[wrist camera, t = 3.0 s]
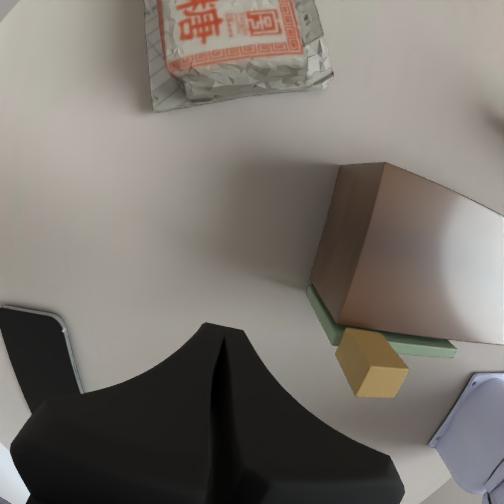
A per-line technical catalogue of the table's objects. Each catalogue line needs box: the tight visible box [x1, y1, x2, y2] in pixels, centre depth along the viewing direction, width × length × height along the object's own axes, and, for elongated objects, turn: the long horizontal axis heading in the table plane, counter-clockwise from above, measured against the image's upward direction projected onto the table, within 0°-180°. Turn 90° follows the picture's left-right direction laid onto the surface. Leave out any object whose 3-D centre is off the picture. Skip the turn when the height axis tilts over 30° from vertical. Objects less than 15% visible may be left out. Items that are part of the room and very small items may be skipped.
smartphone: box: [0, 305, 84, 414], centre depth 20 cm, size 7×1×15 cm
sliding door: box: [306, 286, 457, 398], centre depth 14 cm, size 1×8×9 cm, turn 77°
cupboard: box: [310, 162, 504, 345], centre depth 15 cm, size 7×15×6 cm, turn 77°
